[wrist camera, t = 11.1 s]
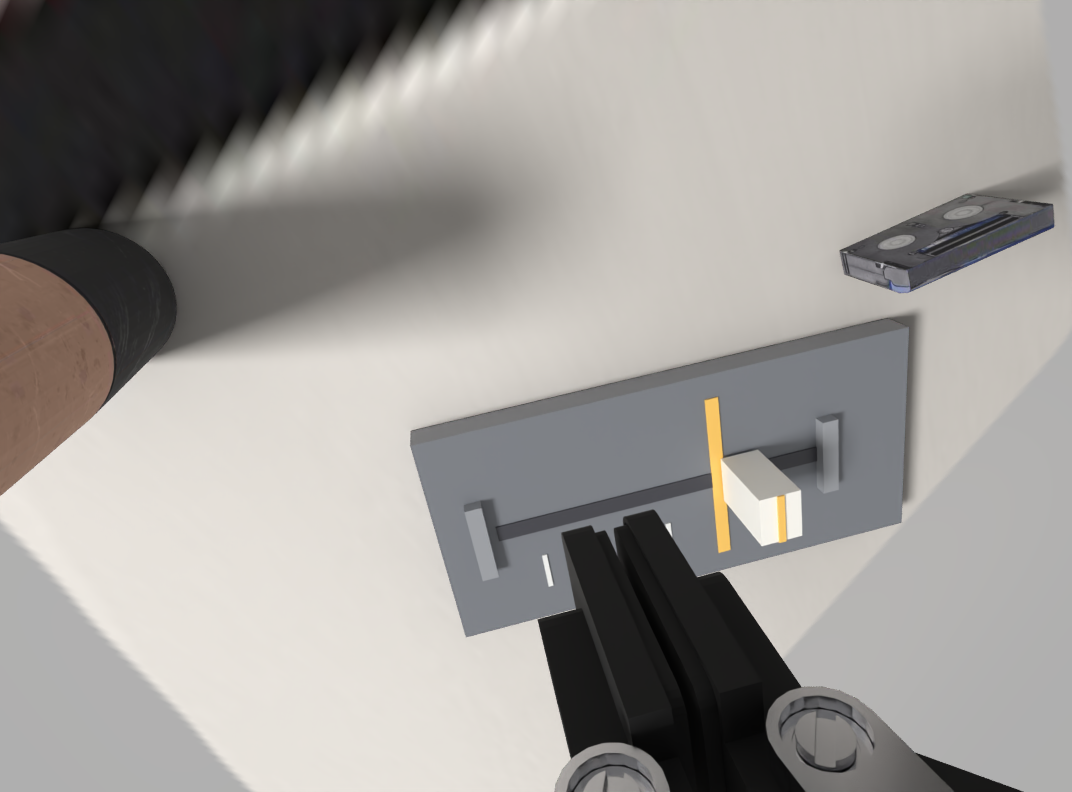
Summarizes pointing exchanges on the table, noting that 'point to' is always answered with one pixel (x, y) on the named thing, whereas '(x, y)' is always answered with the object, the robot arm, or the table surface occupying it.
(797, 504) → the fader
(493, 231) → the table surface
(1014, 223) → the mini dv tape
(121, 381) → the travel mug
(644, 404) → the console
